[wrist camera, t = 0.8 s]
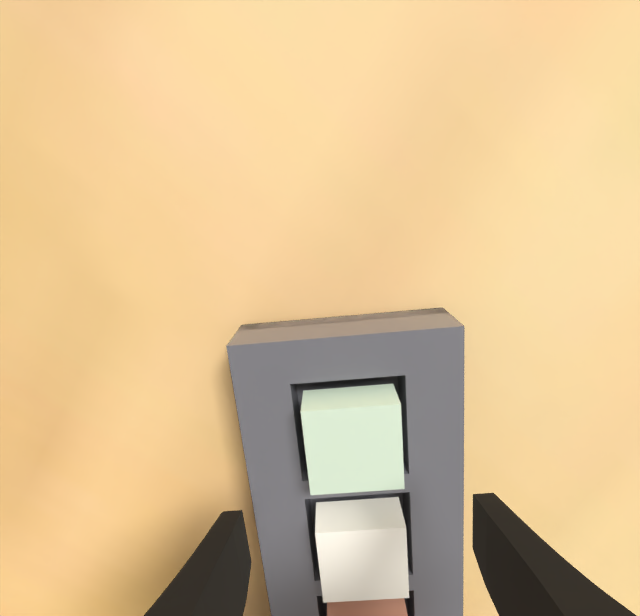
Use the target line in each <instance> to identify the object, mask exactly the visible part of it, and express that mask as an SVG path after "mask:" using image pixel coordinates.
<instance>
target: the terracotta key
mask: <svg viewBox="0 0 640 616" xmlns="http://www.w3.org/2000/svg"><path fill="white" fill-rule="evenodd" d="M327 616H408V614H407V609H406V604H405V599H404V598H398V599H380V600H363V601H345V602H327Z"/></svg>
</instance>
